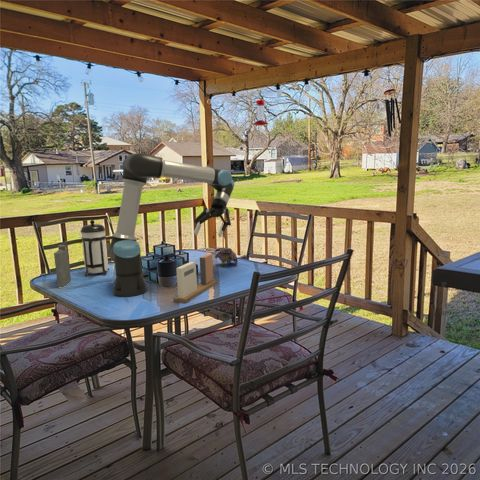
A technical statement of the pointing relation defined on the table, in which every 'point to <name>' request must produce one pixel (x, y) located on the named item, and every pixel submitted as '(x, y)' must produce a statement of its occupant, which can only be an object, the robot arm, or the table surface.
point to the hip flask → (62, 266)
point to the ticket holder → (189, 283)
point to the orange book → (206, 269)
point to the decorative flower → (226, 255)
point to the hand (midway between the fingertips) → (207, 234)
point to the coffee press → (94, 248)
